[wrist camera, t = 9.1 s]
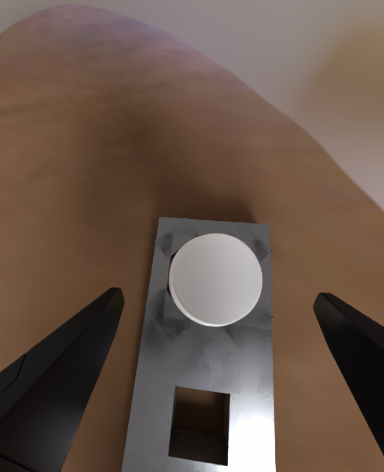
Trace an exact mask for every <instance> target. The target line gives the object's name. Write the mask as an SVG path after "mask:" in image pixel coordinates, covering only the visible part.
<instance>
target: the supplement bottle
mask: <svg viewBox="0 0 384 472" xmlns="http://www.w3.org/2000/svg"><path fill="white" fill-rule="evenodd" d="M169 287H170V292H171V295H172V298H173V300H174V302H175V304H176V305H177V307H178V308H179V309H180V310H181V312H182V313H183V314H185V315H186V316H187V317H188V318H190V319H191V320H193V321H195V322H197V323H199V324H202V325H206V326H214V327H217V326H225V325H228V324H231V323H233V322H235V321H238V320H240V319H241V318H243V317H244V316H246V315H247V314H248V313H249V312H250V311H251V310H252V309H253V308H254V306H255V305H256V303H257V301H258V299H259V297H260V294H261V290H262V271H261V267H260V264H259V262H258V260H257V258H256V256H255V254H254V253H253V252H252V250H251V249H250V248H249V247H248V246H247V245H246V244H245V243H243V242H242V241H240V240H239V239H237V238H235V237H233V236H230V235H227V234H221V233H212V234H206V235H202V236H199V237H196V238H194V239H192V240H190V241H188V242H187V243H186V244H184V245H183V246H182V247H181V248H180V250H179V251H178V252H177V254H176V255H175V257H174V259H173V261H172V264H171V267H170V272H169Z"/></svg>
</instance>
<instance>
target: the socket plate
mask: <svg viewBox="0 0 384 472" xmlns="http://www.w3.org/2000/svg"><path fill="white" fill-rule="evenodd" d="M212 233H221V234H227V235H230V236H233V237H235V238H237V239H239V240H240V241H242V242H243V243H245V244H246V245H247V246H248V247H249V248H250V249H251V250H252V252H253V253H254V254H255V256H256V258H257V260H258V262H259V264H260V267H261V271H262V290H261V294H260V297H259V299H258V301H257V303H256V305H255V306H254V308H253V309H252V310H251V311H250V312H249V313H248V314H247V315H246V316H244V317H243V318H241V319H240V320H238V321H235V322H233V323H231V324H228V325H225V326H217V327H214V326H206V325H202V324H199V323H197V322H195V321H193V320H191V319H190V318H188V317H187V316H186V315H185V314H183V313H182V312H181V310H180V309H179V308H178V307H177V305H176V304H175V302H174V300H173V298H172V295H171V292H170V287H169V272H170V267H171V264H172V261H173V259H174V257H175V255H176V254H177V252H178V251H179V250H180V248H181V247H182V246H183V245H184V244H186V243H187V242H188V241H190V240H192V239H194V238H196V237H199V236H202V235H206V234H212ZM154 242H155V243H156V244H155V250H154V257H153V264H152V270H151V277H150V284H149V291H148V297H147V302H146V303H145V305H146V311H145V317H144V324H143V331H142V337H141V344H140V351H139V357H138V364H137V371H136V377H135V384H134V391H133V397H132V404H131V411H130V418H129V424H128V431H127V438H126V444H125V451H124V458H123V464H122V471H121V472H275V445H274V399H273V352H272V318H274V317H273V316H272V306H271V260H270V253H271V252H272V250H271V249H270V225H268V224H254V223H244V222H243V221H242V222H241V223H240V222H225V221H211V220H197V219H186V218H183V219H182V218H168V217H159V224H158V230H157V237H156V240H155V241H154ZM177 386H178V387H185V388H192V389H199V390H206V391H214V392H221V393H225V407H224V433H223V435H219V434H213V433H207V432H200V431H194V430H187V429H181V428H175V427H174V418H175V407H176V397H177Z"/></svg>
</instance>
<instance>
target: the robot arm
mask: <svg viewBox="0 0 384 472" xmlns="http://www.w3.org/2000/svg"><path fill="white" fill-rule="evenodd" d="M123 306H124V297H123V294H122V290H121V288H114V287H113V288H110V289H109V290H107V291H106V292H105V293H103V294H102V295H101V296H99V297H98V298H97V299H96V300H94V301H93V302H92V303H90V304H89V305H88V306H86V307H85V308H84V309H82V310H81V311H80V312H78V313H77V314H76V315H75V316H73V317H72V318H71V319H69V320H68V321H67V322H65V323H64V324H63V325H61V326H60V327H59V328H58V329H56V330H55V331H54V332H52V333H51V334H50V335H48V336H47V337H46V338H44V339H43V340H42V341H41V342H39V343H38V344H37V345H35V346H34V347H33V348H31V349H30V350H29V351H28V352H27V353H25V354H23V355H22V356H21V357H19V358H18V359H17V360H16V361H14V362H13V363H12V364H10V365H9V366H8V367H6V368H5V369H4V370H2V371H1V372H0V472H60V471H61V469H62V466H63V464H64V461H65V459H66V456H67V454H68V451H69V449H70V446H71V444H72V441H73V439H74V437H75V434H76V432H77V429H78V427H79V424H80V422H81V419H82V417H83V414H84V412H85V409H86V407H87V404H88V402H89V399H90V397H91V394H92V392H93V389H94V387H95V384H96V382H97V379H98V377H99V375H100V372H101V370H102V367H103V365H104V362H105V360H106V357H107V355H108V352H109V350H110V347H111V345H112V342H113V340H114V337H115V334H116V330H117V327H118V324H119V320H120V317H121V313H122V310H123ZM313 310H314V312H315V315H316V318H317V320H318V323H319V325H320V328H321V330H322V333H323V335H324V338H325V340H326V343H327V345H328V347H329V349H330V351H331V353H332V355H333V357H334V359H335V361H336V363H337V365H338V367H339V369H340V371H341V373H342V375H343V377H344V379H345V381H346V383H347V385H348V387H349V389H350V391H351V393H352V394H353V396H354V398H355V400H356V402H357V404H358V406H359V408H360V410H361V412H362V414H363V416H364V418H365V420H366V422H367V424H368V426H369V428H370V430H371V432H372V434H373V436H374V438H375V440H376V442H377V444H378V446H379V448H380V450H381V451H382V453H383V455H384V327H383V326H382V325H380V324H378V323H377V322H375V321H374V320H372V319H371V318H369V317H367V316H366V315H364V314H363V313H361V312H360V311H358V310H357V309H355V308H353V307H352V306H350V305H349V304H347V303H346V302H344V301H342V300H341V299H339V298H338V297H336V296H335V295H333V294H331V293H319V294H318V296H317V298H316V300H315V302H314V305H313Z"/></svg>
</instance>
